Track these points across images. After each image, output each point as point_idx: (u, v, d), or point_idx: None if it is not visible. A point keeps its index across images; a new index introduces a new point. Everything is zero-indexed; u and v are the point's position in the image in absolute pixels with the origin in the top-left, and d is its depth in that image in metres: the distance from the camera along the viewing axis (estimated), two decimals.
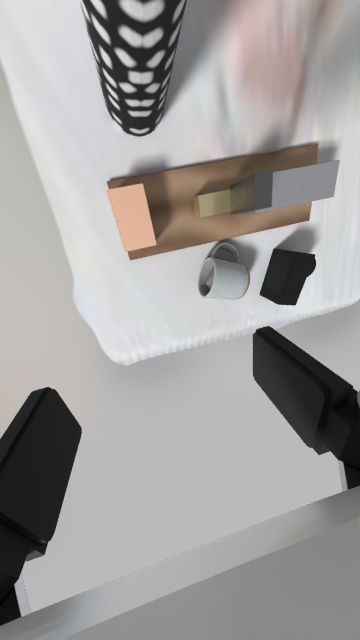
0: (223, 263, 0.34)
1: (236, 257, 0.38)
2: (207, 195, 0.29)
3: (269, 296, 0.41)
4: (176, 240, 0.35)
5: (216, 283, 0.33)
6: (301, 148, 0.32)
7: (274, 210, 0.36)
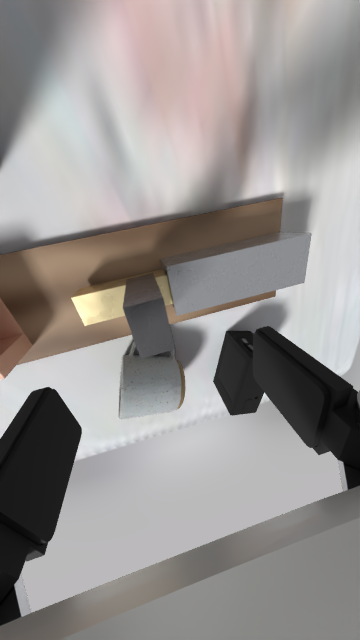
0: (138, 376, 0.22)
1: None
2: (89, 295, 0.17)
3: (222, 394, 0.30)
4: (69, 339, 0.23)
5: (125, 411, 0.21)
6: (255, 205, 0.21)
7: None
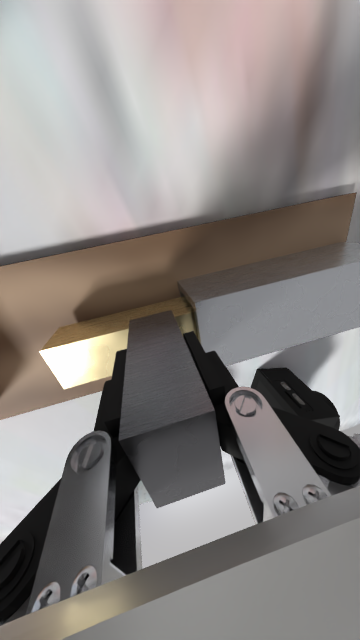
0: None
1: None
2: (69, 347, 0.11)
3: None
4: (49, 391, 0.16)
5: None
6: (318, 203, 0.14)
7: None
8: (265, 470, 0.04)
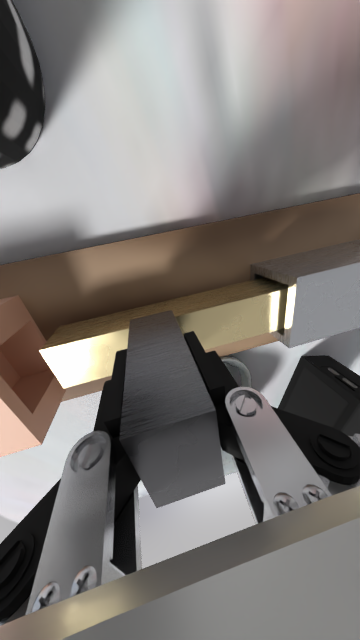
0: None
1: (245, 378, 0.20)
2: (69, 346, 0.11)
3: None
4: None
5: None
6: None
7: None
8: (266, 470, 0.04)
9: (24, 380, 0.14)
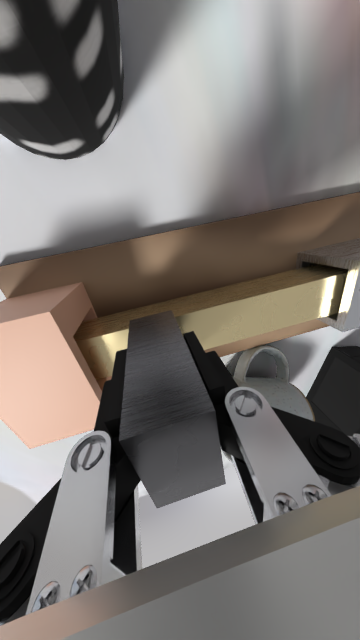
0: None
1: (282, 367, 0.20)
2: None
3: None
4: None
5: None
6: None
7: None
8: (265, 470, 0.04)
9: None
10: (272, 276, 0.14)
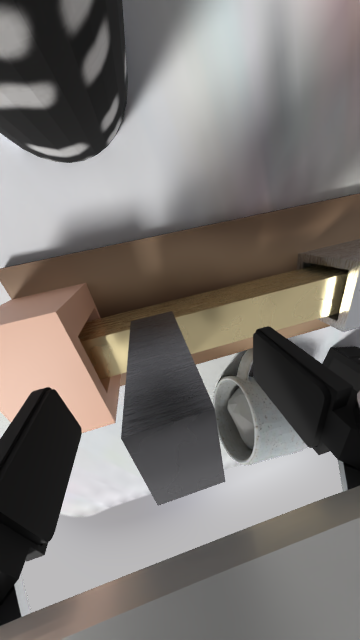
0: (270, 408, 0.16)
1: None
2: None
3: None
4: None
5: (258, 457, 0.15)
6: None
7: None
8: None
9: None
10: (271, 277, 0.15)
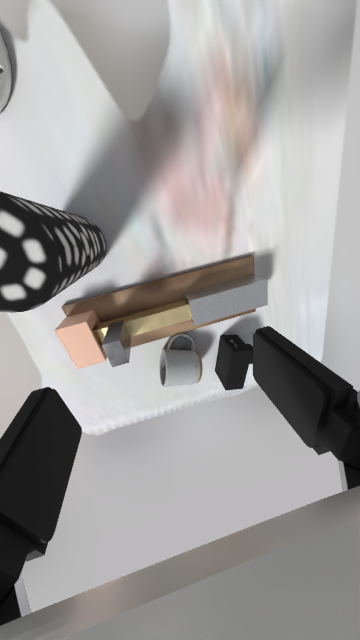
0: (175, 360, 0.37)
1: (192, 344, 0.41)
2: None
3: (220, 377, 0.44)
4: None
5: (168, 380, 0.36)
6: (237, 261, 0.36)
7: None
8: None
9: None
10: (169, 304, 0.36)
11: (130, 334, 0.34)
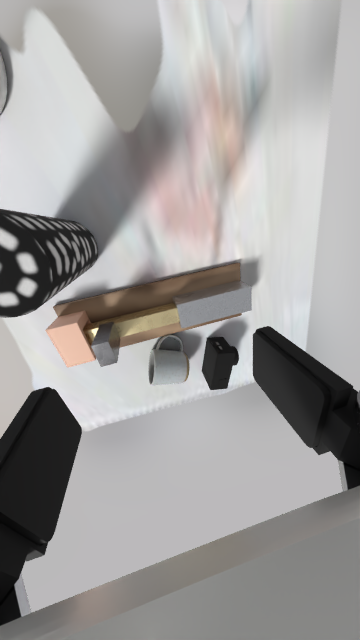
0: (163, 360, 0.39)
1: (180, 345, 0.43)
2: None
3: (206, 378, 0.46)
4: None
5: (156, 379, 0.38)
6: (224, 267, 0.38)
7: None
8: None
9: None
10: (158, 307, 0.37)
11: (120, 335, 0.35)
